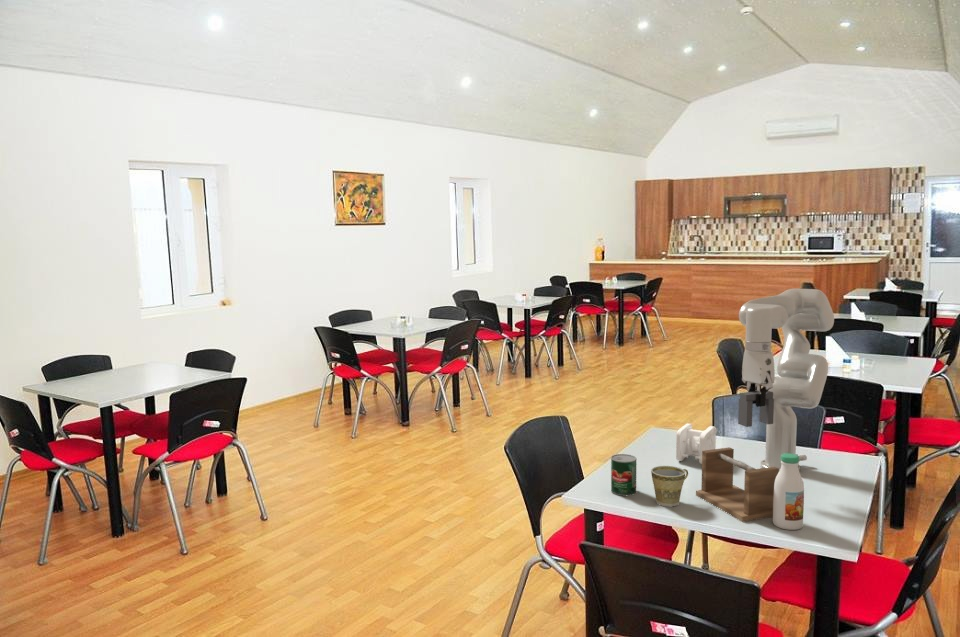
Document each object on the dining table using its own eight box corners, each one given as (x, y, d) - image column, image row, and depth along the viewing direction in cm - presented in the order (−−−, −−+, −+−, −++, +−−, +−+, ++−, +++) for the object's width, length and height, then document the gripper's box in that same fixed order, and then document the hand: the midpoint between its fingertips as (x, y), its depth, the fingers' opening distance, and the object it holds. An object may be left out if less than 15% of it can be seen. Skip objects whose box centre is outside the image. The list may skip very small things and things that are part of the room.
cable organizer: (687, 452, 268) (688, 421, 267) (717, 456, 262) (717, 425, 261) (675, 463, 256) (675, 431, 254) (705, 468, 250) (706, 435, 248)
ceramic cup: (666, 511, 212) (667, 478, 211) (643, 500, 220) (644, 469, 219) (699, 503, 218) (700, 471, 217) (675, 492, 227) (676, 462, 225)
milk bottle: (772, 528, 198) (775, 458, 196) (772, 518, 206) (774, 449, 203) (803, 532, 196) (806, 460, 193) (802, 521, 203) (804, 452, 200)
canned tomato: (634, 487, 232) (634, 454, 231) (638, 496, 225) (638, 461, 223) (609, 487, 233) (609, 453, 232) (612, 495, 225) (612, 461, 224)
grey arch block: (764, 420, 230) (765, 389, 229) (773, 423, 226) (774, 392, 225) (738, 423, 227) (738, 392, 226) (746, 426, 223) (747, 395, 222)
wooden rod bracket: (695, 495, 224) (696, 451, 222) (733, 489, 228) (734, 446, 227) (742, 521, 203) (743, 473, 202) (783, 515, 208) (784, 467, 206)
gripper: (786, 349, 217) (784, 409, 220) (750, 342, 233) (749, 398, 235) (766, 351, 215) (764, 412, 217) (730, 343, 231) (729, 400, 233)
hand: (756, 404), depth 226 cm, fingers closed on grey arch block, 3 cm apart
